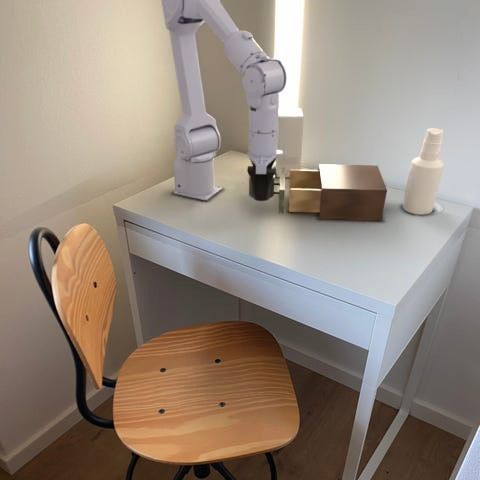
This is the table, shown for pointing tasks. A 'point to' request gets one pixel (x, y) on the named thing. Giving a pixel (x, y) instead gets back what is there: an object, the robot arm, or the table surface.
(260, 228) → the table surface
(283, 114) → the cosmetic box
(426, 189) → the spray bottle
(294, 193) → the drawer
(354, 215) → the cabinet
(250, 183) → the dark grey cup
